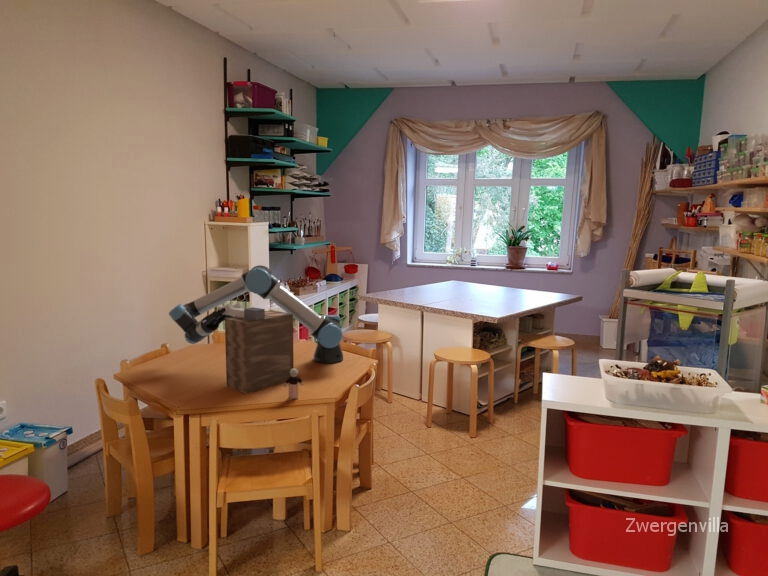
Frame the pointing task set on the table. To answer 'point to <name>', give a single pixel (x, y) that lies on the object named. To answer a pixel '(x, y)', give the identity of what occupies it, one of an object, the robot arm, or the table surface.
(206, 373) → the table surface
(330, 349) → the robot arm
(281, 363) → the walnut shelf
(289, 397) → the grandmother figurine
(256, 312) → the bar
